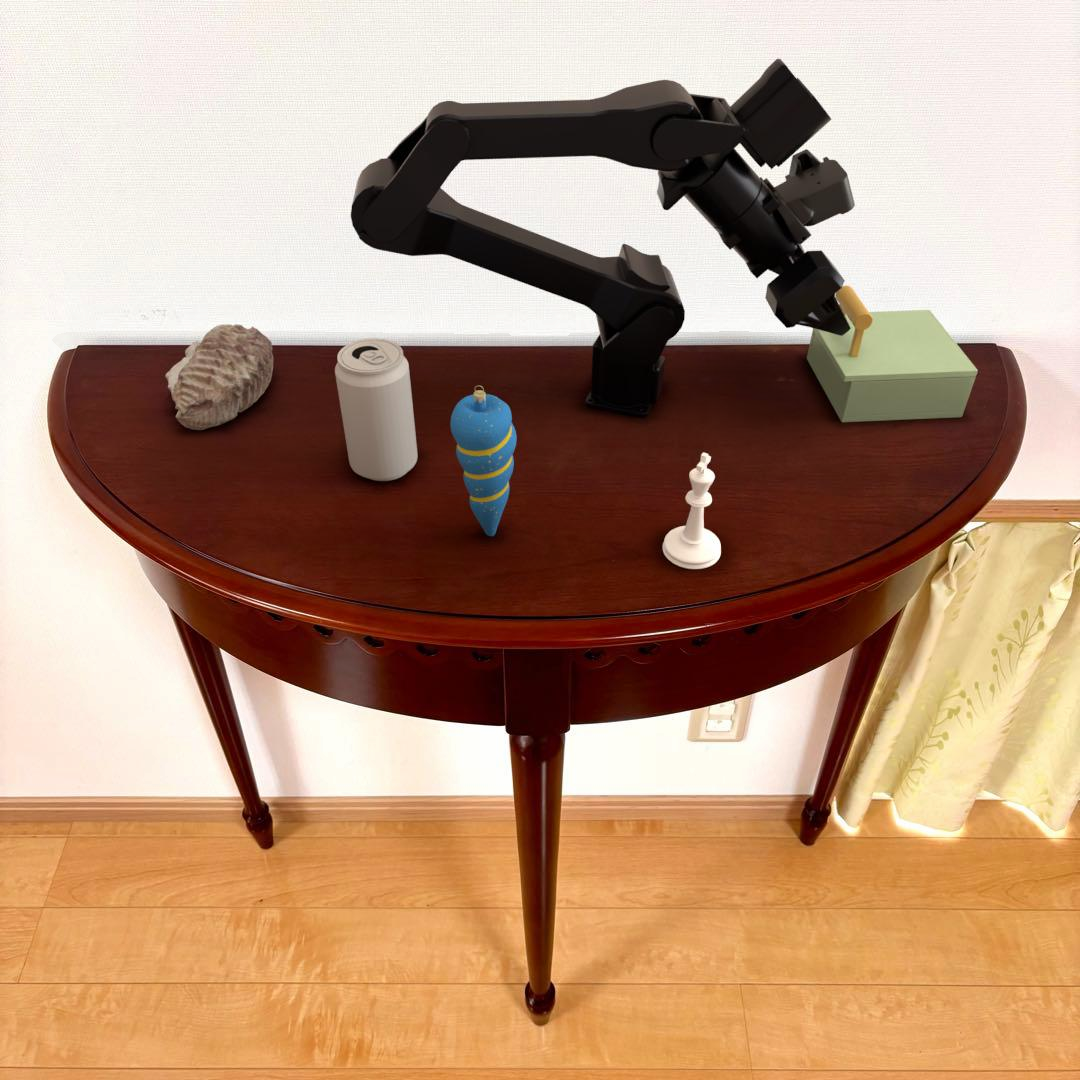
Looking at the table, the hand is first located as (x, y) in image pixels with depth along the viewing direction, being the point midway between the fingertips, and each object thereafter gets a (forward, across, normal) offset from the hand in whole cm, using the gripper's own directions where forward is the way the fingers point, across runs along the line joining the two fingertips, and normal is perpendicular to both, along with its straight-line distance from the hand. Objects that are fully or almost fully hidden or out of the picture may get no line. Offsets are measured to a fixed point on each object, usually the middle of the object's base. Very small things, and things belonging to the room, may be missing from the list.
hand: (831, 308), depth 94 cm
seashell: (-37, +3, +50) cm, 62 cm away
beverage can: (-25, -10, +38) cm, 46 cm away
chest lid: (+8, 0, -2) cm, 8 cm away
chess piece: (-6, -24, +19) cm, 31 cm away
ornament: (-18, -21, +31) cm, 42 cm away
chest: (+12, 0, +2) cm, 12 cm away
